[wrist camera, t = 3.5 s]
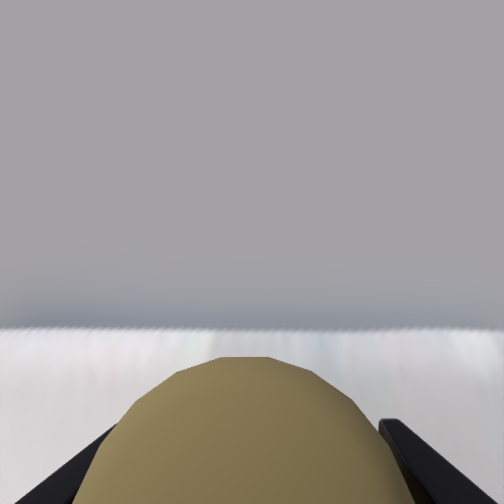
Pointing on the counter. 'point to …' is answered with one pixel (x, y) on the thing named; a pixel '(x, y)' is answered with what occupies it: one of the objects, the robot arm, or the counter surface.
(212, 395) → the olive knobbed peg
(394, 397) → the counter surface
